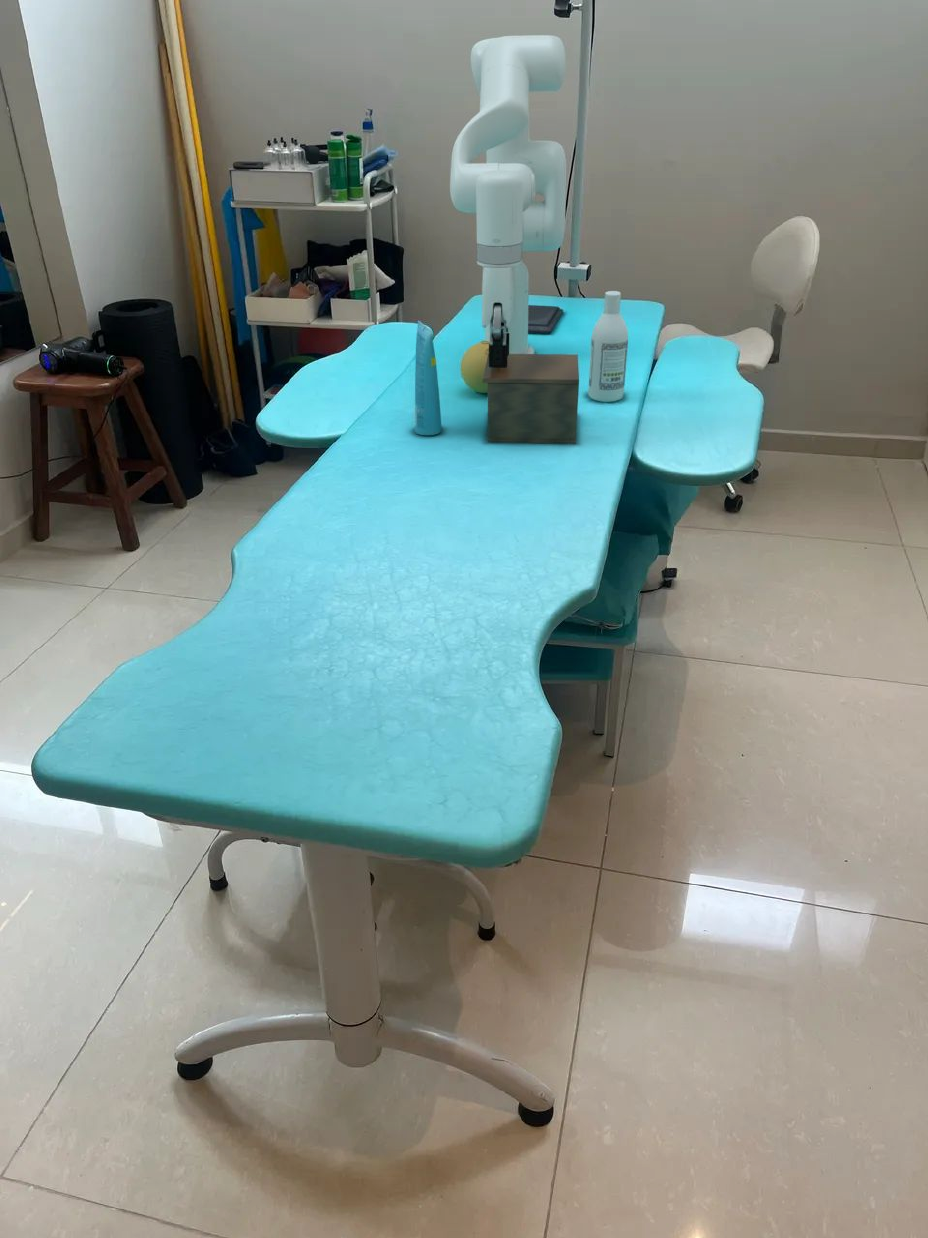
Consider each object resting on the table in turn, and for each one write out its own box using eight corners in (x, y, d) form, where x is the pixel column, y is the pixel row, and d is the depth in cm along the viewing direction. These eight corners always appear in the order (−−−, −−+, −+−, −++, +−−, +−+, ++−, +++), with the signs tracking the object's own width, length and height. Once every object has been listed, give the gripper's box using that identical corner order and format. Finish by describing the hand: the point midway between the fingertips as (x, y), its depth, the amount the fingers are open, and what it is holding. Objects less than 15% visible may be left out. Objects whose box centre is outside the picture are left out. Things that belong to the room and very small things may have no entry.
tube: (448, 435, 166) (445, 328, 156) (424, 440, 165) (419, 333, 154) (431, 421, 172) (427, 318, 161) (408, 426, 170) (402, 322, 160)
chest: (487, 442, 163) (487, 383, 157) (492, 414, 175) (492, 358, 169) (575, 443, 162) (578, 384, 156) (574, 415, 173) (577, 358, 167)
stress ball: (483, 404, 179) (483, 353, 174) (451, 391, 185) (449, 342, 180) (520, 391, 185) (521, 342, 179) (487, 379, 191) (487, 331, 185)
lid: (483, 382, 157) (482, 349, 154) (488, 357, 169) (488, 325, 166) (578, 384, 156) (580, 350, 153) (577, 358, 167) (579, 326, 164)
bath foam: (630, 396, 181) (639, 292, 170) (606, 405, 177) (614, 299, 166) (605, 387, 185) (612, 285, 174) (580, 396, 182) (586, 292, 171)
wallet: (549, 326, 215) (487, 322, 219) (549, 334, 216) (487, 330, 220) (566, 304, 231) (507, 300, 235) (565, 311, 232) (507, 308, 236)
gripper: (480, 242, 159) (481, 346, 169) (472, 265, 145) (474, 377, 155) (523, 242, 159) (522, 346, 169) (520, 265, 145) (518, 377, 155)
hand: (499, 360), depth 162 cm, fingers open, 5 cm apart
